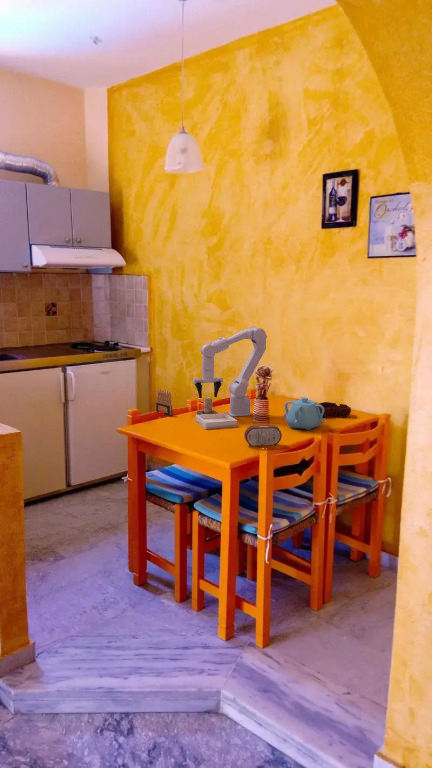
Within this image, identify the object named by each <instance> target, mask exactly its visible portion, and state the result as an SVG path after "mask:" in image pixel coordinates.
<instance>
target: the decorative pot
mask: <svg viewBox="0 0 432 768" xmlns="http://www.w3.org/2000/svg"><path fill="white" fill-rule="evenodd" d="M289 404H291V405H290V406H289V409H288V405H289ZM319 407H320V408H321V409H322V413H321V414H320V410H319ZM284 411H285V413H284V414H283V419H285V420H286V423H287V425H288V426H289V427H291V429H303V430H305V431H311V430H312V429H315V428H317V427H318V426H319V425H320V424H321V425H322V424H325V422H326V419H325V417H324V418H322V416H323V414H324V407H323V406H322V405H319V403H317V402H316V401H315V400H311V399H309V397H305V396H303V397H300V399H296V400H294V401H291V400H289V401H286V402H285V403H284Z"/></svg>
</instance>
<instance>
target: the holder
mask: <svg viewBox="0 0 432 768" xmlns="http://www.w3.org/2000/svg"><path fill="white" fill-rule="evenodd" d="M217 413H218V412H217V411H216V410H215V409H212V413H211V414H217ZM196 415H204V410H197V411H196Z"/></svg>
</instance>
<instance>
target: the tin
mask: <svg viewBox="0 0 432 768" xmlns="http://www.w3.org/2000/svg"><path fill="white" fill-rule="evenodd" d="M243 435H244V441H246V443H247V444H248V445H249V446H250V447H273V446H272V445H274V446H276V445H279V443H280V442H281V440H282V436H283V434H282V431H281V430H280V428H279V426H277V425H274V424H253V425H250V426H249V427H247V428H246V430H245V431H244V434H243Z"/></svg>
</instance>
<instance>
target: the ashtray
mask: <svg viewBox="0 0 432 768" xmlns="http://www.w3.org/2000/svg"><path fill="white" fill-rule="evenodd" d="M318 404H319V405H322V406H323V407H324V414H323V416H322V418H324V419H325V417H329V418H330V417H331V418H332V417H333V418H335V417H341V418H347V417H348V416H349V415H351V413H352V408H351V406H348V405H347V404H344V403H339V405H337V403H336V402H330V401H329V402H328V401H324V402H320V403H318ZM319 410H320V414H321V413H322V409H321V408H320V407H319Z"/></svg>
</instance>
